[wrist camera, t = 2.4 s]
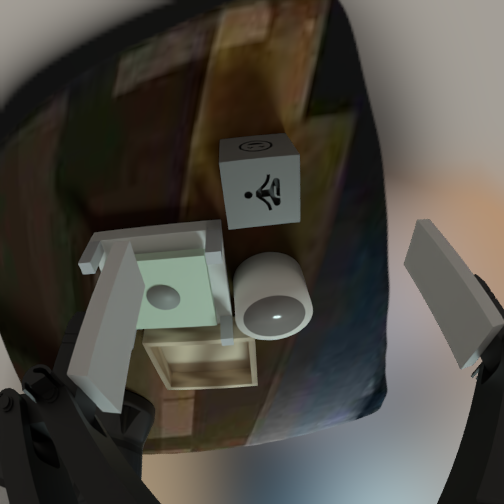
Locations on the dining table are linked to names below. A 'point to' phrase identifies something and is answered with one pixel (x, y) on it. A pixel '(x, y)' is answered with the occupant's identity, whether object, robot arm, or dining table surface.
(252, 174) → the dice cube
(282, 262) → the cup
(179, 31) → the dining table surface
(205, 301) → the plate
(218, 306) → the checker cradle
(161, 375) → the trough
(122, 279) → the robot arm
